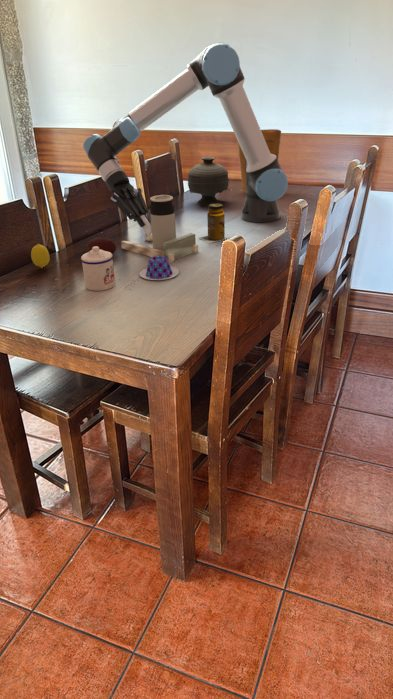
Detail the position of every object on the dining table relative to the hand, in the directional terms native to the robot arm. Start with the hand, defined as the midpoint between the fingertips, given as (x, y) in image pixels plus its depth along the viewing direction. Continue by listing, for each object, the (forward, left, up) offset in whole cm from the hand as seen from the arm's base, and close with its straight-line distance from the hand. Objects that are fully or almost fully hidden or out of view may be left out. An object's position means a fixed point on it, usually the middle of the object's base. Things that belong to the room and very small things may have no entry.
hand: (151, 233), depth 180 cm
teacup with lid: (+3, +33, -6) cm, 33 cm away
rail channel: (-3, +1, -6) cm, 6 cm away
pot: (-2, -64, -6) cm, 65 cm away
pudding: (-11, +22, -6) cm, 25 cm away
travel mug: (-5, +1, -6) cm, 8 cm away
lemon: (+28, +25, -6) cm, 38 cm away
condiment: (-18, -15, -6) cm, 24 cm away
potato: (+14, +10, -6) cm, 18 cm away
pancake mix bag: (-20, -86, -6) cm, 89 cm away
